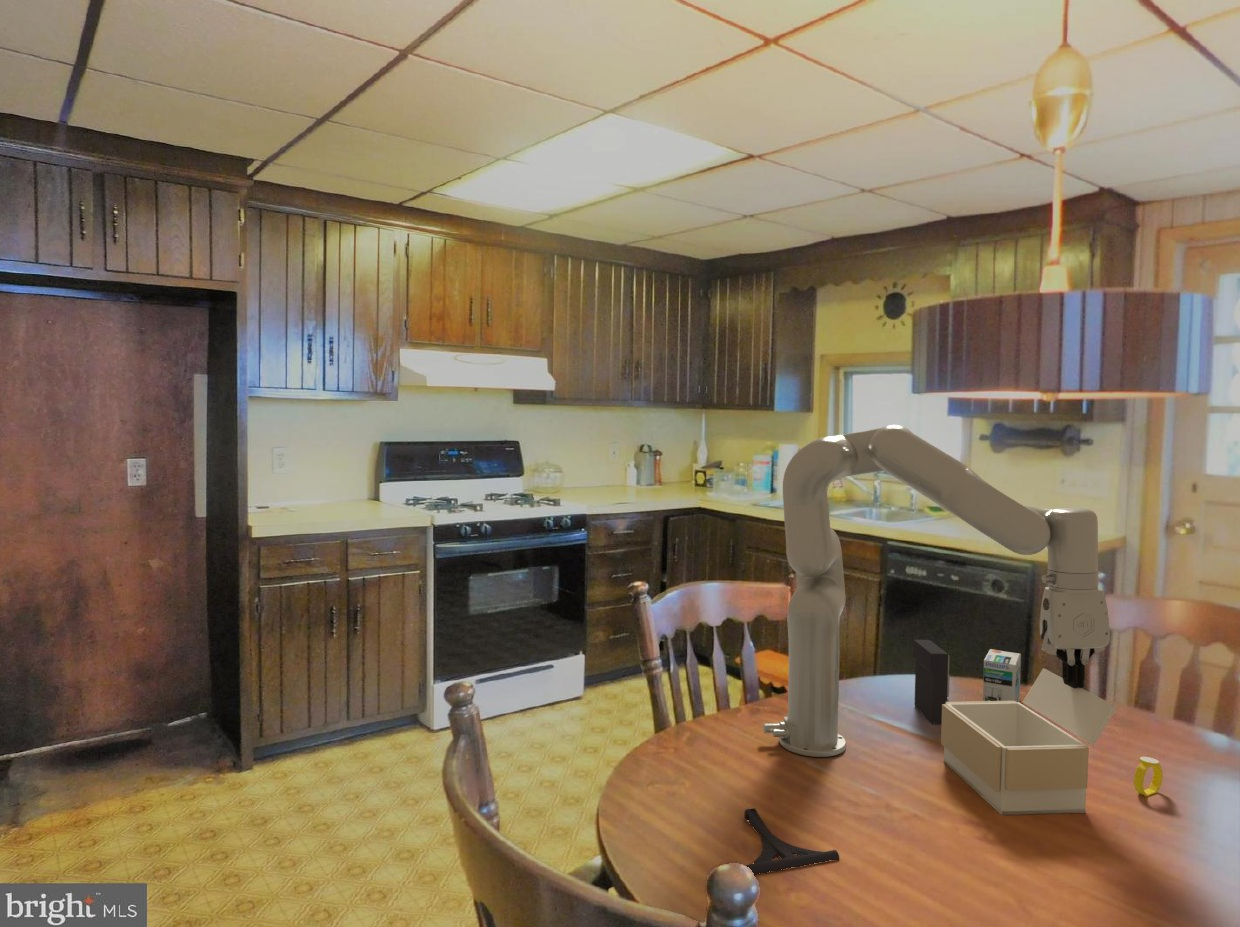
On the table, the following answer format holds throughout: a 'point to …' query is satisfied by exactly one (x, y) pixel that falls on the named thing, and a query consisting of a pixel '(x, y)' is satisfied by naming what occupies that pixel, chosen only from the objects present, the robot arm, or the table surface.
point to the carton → (1015, 757)
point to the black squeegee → (781, 850)
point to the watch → (1140, 773)
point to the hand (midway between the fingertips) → (1073, 685)
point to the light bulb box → (1001, 676)
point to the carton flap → (1070, 706)
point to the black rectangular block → (931, 679)
